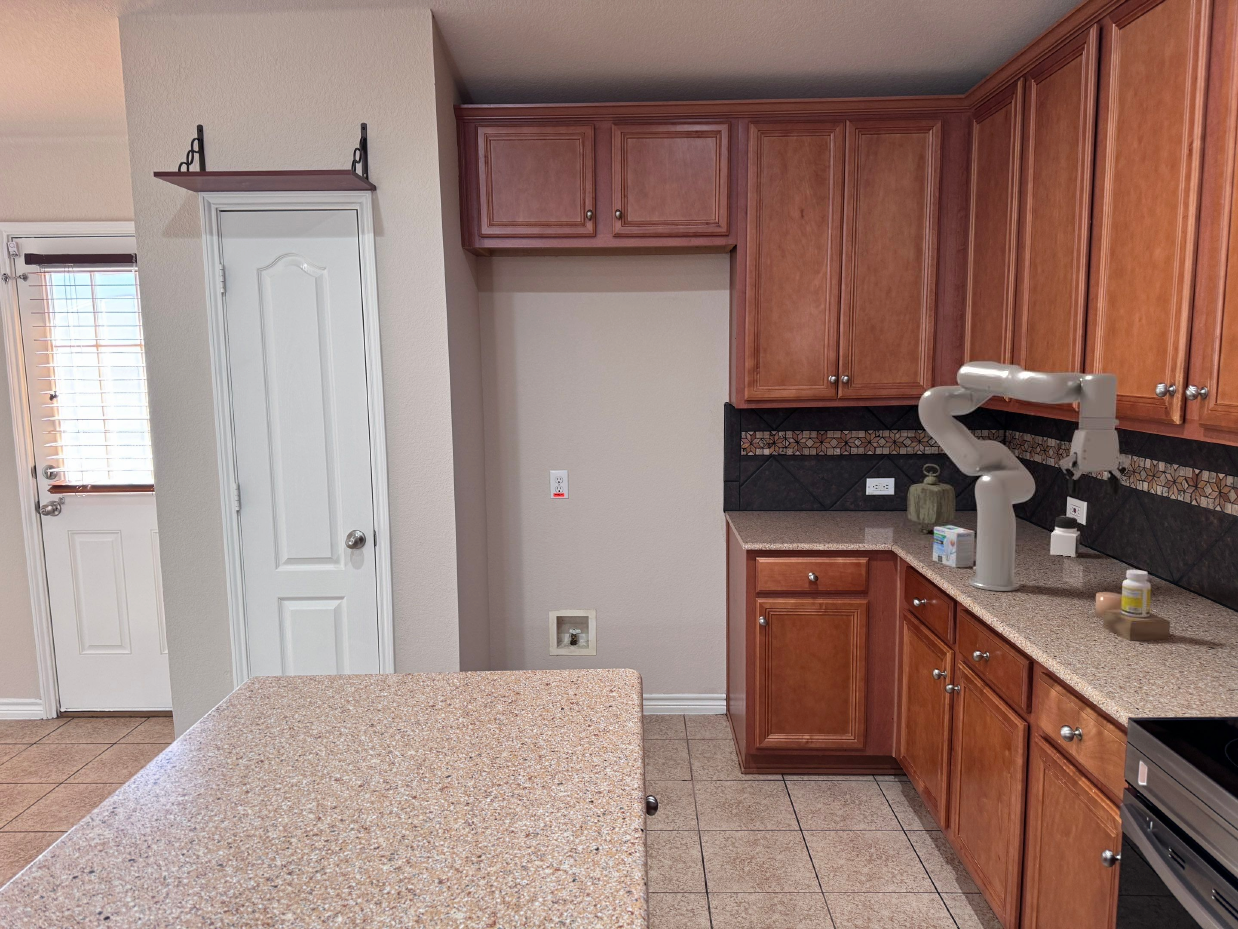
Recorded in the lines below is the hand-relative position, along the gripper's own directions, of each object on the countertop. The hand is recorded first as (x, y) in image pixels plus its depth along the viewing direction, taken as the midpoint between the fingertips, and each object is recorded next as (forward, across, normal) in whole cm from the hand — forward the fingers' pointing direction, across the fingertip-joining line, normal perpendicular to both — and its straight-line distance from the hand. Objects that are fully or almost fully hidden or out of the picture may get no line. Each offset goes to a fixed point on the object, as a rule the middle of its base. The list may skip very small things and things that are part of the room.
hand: (1093, 494), depth 201 cm
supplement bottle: (+24, +2, +20) cm, 31 cm away
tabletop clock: (+28, -2, -93) cm, 97 cm away
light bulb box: (+29, +11, -48) cm, 57 cm away
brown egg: (+28, -1, +7) cm, 29 cm away
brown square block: (+28, +2, +20) cm, 35 cm away
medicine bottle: (+28, -29, -55) cm, 68 cm away
